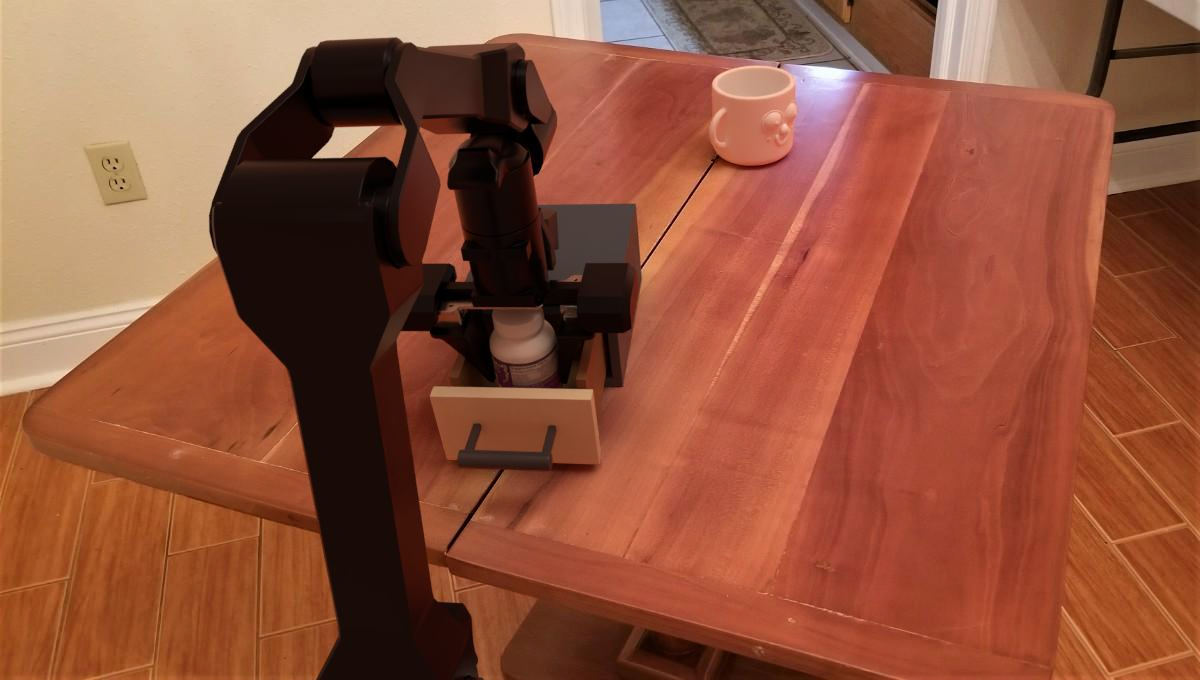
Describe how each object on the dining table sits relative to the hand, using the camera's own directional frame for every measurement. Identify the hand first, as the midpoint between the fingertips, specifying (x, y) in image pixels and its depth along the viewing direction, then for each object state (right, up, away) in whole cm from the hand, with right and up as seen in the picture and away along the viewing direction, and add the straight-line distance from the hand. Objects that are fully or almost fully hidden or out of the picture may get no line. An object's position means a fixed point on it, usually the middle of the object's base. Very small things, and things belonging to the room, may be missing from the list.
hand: (529, 379), depth 77 cm
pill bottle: (0, -2, +2) cm, 3 cm away
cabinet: (+2, +4, +13) cm, 14 cm away
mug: (+24, +26, +37) cm, 51 cm away
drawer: (0, -3, +2) cm, 4 cm away
